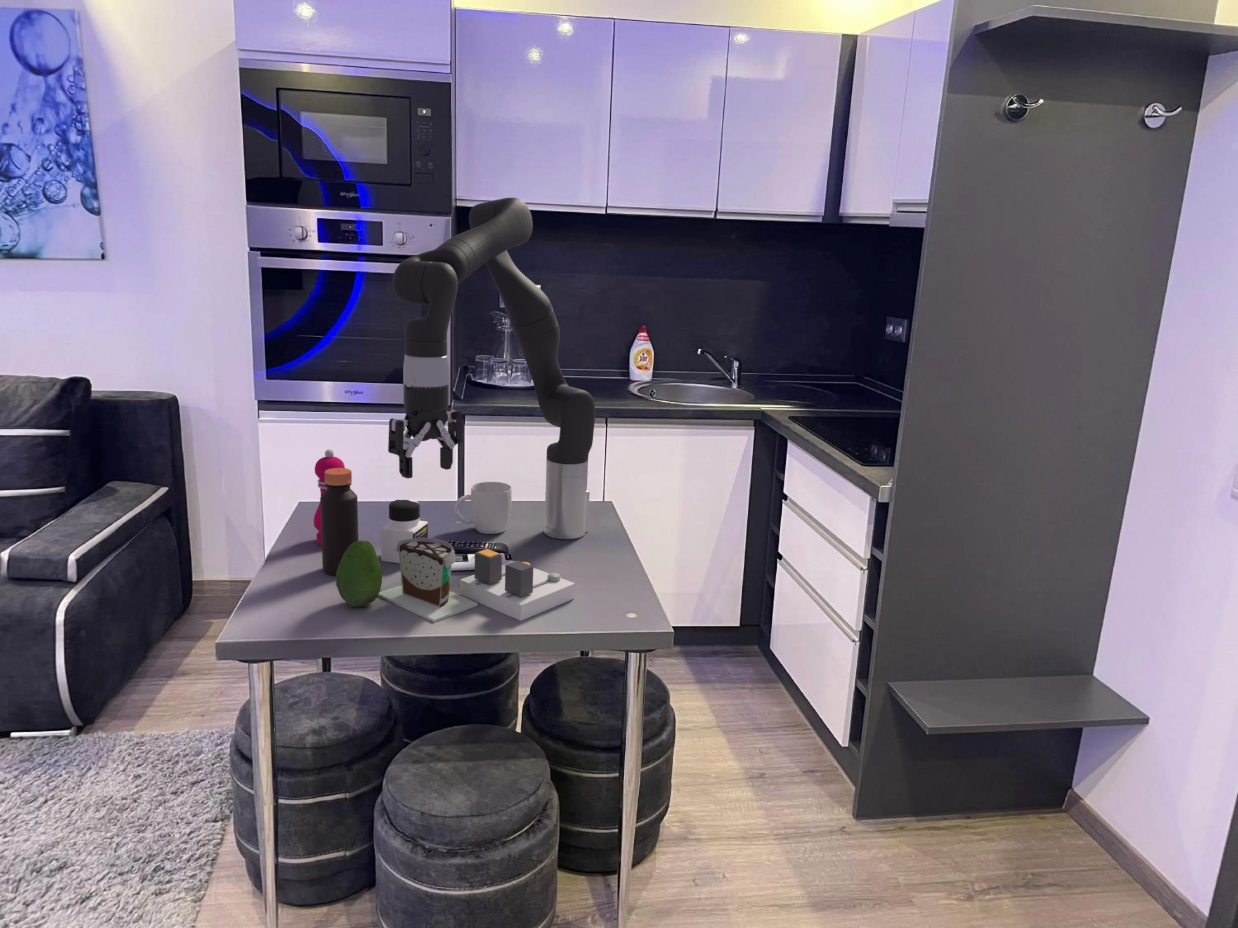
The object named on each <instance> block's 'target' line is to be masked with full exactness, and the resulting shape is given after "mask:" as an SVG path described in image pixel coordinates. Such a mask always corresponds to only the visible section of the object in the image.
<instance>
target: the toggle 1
mask: <svg viewBox="0 0 1238 928" xmlns="http://www.w3.org/2000/svg"><path fill="white" fill-rule="evenodd" d="M502 565H503V554H501V553H499V552H496V551H495V550H491V549H488V548H487V549H483V550H479V551H477V552H474V575H475V579H477V580H480V581H482V582H484V583H487V584H489V585H490V584H492V583H495V582H498V581H501V580H502Z"/></svg>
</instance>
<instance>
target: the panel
mask: <svg viewBox="0 0 1238 928" xmlns="http://www.w3.org/2000/svg"><path fill="white" fill-rule="evenodd" d="M515 561H516V560H513V561H509V562H507V563H504V564H503V563H502V580H501V581H498V582H495V583H492V584H490V585H489V584H487V583H484V582H482V581H480V580H477V579H475V574H472V575H469V576H466V577H463V578H461V579H459V595H460V596H462V597H465V598H467V599H469V600H472V601H474V602H476V603H478V604H481V605H483V606H485V607H487V608H490V609H492V610H495V611H497V612H499V613H502V614H504V615H506V616H508V617H510V618H513V619H516V620H518V621H520V622H522V621H524V620H526V619H529V618H531V617H533V616H536V615H538V614H541V613H543V612H545V611H548V610H551V609H553V608H555V607H558V606H560V605H562V604H565V603H567V602H569V601H572V600H575V598H576V582H572V581H570V580H567V579H564V578H562V577H561V574H559V573H555V572H554V573H553V572H552V573H548V572H547V571H543V570H541V569H537V568H536V567H535V568H534V567H533V593H530V594H528V595H525V596H523V597H519V596H516V595H514V594H511V593H509V592H507V591H505V565H506V564H509V563H512V562H515ZM522 562H523V563H526V564H528V565H531V563H530V562H528V561H522Z"/></svg>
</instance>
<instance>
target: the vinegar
mask: <svg viewBox="0 0 1238 928" xmlns="http://www.w3.org/2000/svg"><path fill="white" fill-rule="evenodd" d="M324 474H325V485H326V486H327V490H326V491H325V492H324V493H323V494H322V495H321V494H320V498H319V503H320V509H321V536H322V545H321V556H322V557H321V559H322V560H321V561H322V571H323V572H324V573H325V574H326V575H329V576H333V577H334V576H335V577H336V572H337V569H338V566H339V563H340V561H341V559H342V557H343V554H344V553H345V551H346V549H347V548H348V547H349V546H350V545H351V544H352V543H353V542H356V541H359V513H358V512H359V510H358V509H359V507H358V495H357V494H356V493H355V491H353V489H352V488H351V486H352V485H353V484H352V482H353V479H352V478H353V475H352V470H351V469H349V468H346V467H345V468H332V469H328V470H326V471H325V472H324Z"/></svg>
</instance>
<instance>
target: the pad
mask: <svg viewBox="0 0 1238 928" xmlns="http://www.w3.org/2000/svg"><path fill="white" fill-rule="evenodd" d="M377 597H379V598H381V599H384V600H385V601H388V602H390V603H392V604H394V605H396V606H399V607H401V608H403V609H405V610H406V611H409V612H411V613H413V614H415V615H417V616H419V617H422V618H424V619H426V620H428V621H430V622H432V623H437V622H439V621H442V620H445V619H447V618H450V617H452V616H454V615H457V614H458V615H459V614H460V613H463V612H465V611H467V610H471V609H473V608H476V607H478V605H479V603H478V602H476V601H473V600H471V599H469V598H467V597H464V596H462V595H460V594H457V593H455V592H453V591H450V590H449V598H448V602H447V603H446V604H445V605H444V606H443V607H441V608H439V607H436V606H434V605H431V604H428V603H425V602H423V601H420V600H417V599H414V598H412V597H409V596H406V595H403V591H402V584H401V585H397V586H395V587H391V588H389V589H386V590H383V591H380V592H379V594H378V595H377Z"/></svg>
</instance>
